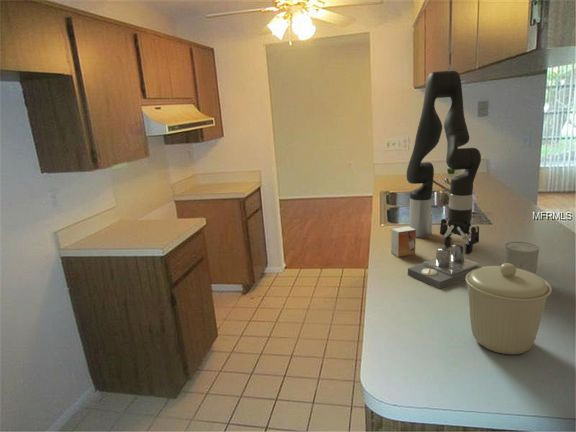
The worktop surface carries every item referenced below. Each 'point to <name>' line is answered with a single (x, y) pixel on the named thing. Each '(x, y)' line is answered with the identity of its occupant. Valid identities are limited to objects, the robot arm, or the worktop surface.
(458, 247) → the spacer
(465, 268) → the shower mixer plate
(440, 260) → the cylinder
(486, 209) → the worktop surface
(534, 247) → the grey round cylinder
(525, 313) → the canister
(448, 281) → the scale
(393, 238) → the small box
